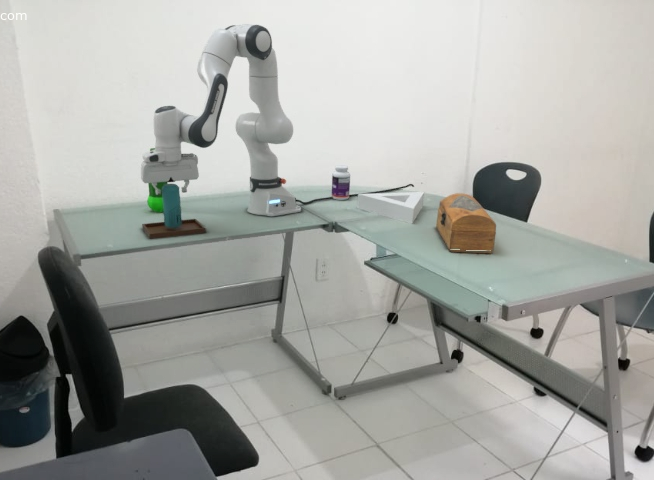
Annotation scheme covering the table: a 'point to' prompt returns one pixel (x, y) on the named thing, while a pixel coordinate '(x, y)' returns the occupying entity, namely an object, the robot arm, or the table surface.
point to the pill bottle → (340, 183)
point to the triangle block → (393, 204)
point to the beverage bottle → (171, 205)
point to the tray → (173, 229)
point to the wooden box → (465, 224)
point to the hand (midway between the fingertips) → (171, 193)
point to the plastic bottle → (156, 196)
